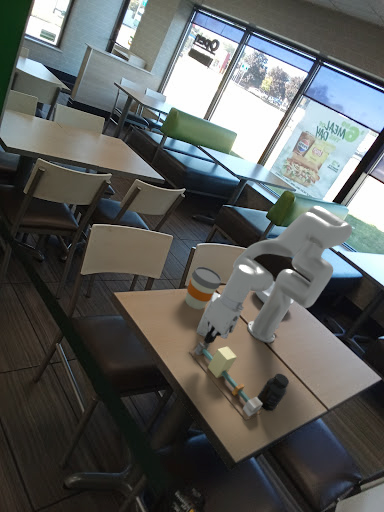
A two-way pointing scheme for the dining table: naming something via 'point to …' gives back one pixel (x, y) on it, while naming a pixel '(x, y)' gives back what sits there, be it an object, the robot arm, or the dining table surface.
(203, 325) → the skincare box
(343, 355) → the dining table surface
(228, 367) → the pale yellow block
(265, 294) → the serving bowl
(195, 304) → the reusable coffee cup
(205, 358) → the cable board
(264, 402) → the supplement bottle
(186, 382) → the dining table surface
